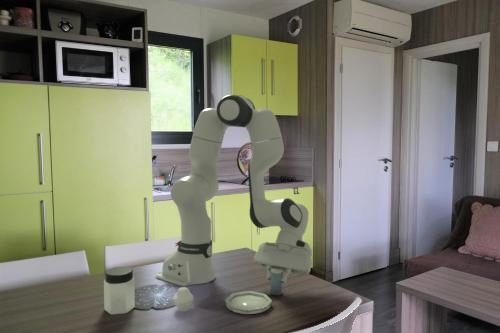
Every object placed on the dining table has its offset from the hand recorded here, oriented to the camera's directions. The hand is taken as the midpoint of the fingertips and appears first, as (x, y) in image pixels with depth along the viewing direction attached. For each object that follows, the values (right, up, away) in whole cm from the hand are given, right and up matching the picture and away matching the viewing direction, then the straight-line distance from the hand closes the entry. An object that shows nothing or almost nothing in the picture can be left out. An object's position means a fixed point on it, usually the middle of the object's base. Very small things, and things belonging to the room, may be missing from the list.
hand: (275, 280), depth 134 cm
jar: (-49, -6, -11) cm, 50 cm away
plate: (-9, -6, -8) cm, 13 cm away
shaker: (0, -4, +1) cm, 4 cm away
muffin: (-29, -6, -11) cm, 32 cm away
